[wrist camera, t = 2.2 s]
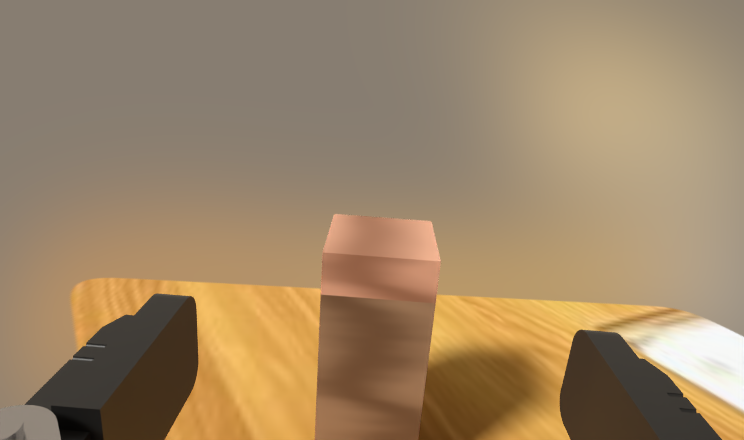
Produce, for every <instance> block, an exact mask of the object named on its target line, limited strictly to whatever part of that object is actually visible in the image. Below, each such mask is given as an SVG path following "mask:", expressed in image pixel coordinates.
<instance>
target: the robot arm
mask: <svg viewBox="0 0 744 440" xmlns="http://www.w3.org/2000/svg"><path fill="white" fill-rule="evenodd" d="M197 370H198V340H197V314H196V303H195V300H194V298H193V297H191V296H180V295H168V294H154V295H153V296H152V297H151V298H150V299H149V300H148V301H147V302H146V303H145V304H144V306H143V307H142V308H141V309H140V310H139V311H138V312H137V313H136V314H135V315H134V316H133V315H124V316H123V317H121V318H119V319H117V320H115V321H113V322H111V323H109V324H107V325H106V326H104V327H102V328H101V329H100V330H99V331H98V332H97V333H96V334H95V335H94V336H93V337H92V338H91V339H90V340H89V341H88V342H87V343H86V346H83V347H82V348H81V349H80V350H79V351H78V352H77V353H76V354H75V355H74V356H73V359H72V360H69V361H68V362H67V363H66V364H65V365H64V366H63V367H62V368H61V369H60V370H59V371H58V372H57V373H56V374H55V375H54V376H53V377H52V378H51V379H50V380H49V381H48V382H47V383H46V384H45V385H44V386H43V387H42V388H41V389H40V390H39V391H38V392H37V393H36V394H35V395H34V396H33V397H32V398H31V399H30V400H29V401H28V402H27V403H26V404H25V405H17V406H10V407H5V408H1V409H0V440H164V439H165V438H166V436H167V434H168V432H169V431H170V429H171V427H172V425H173V423H174V422H175V420H176V418H177V416H178V414H179V413H180V411H181V409H182V407H183V406H184V404H185V402H186V400H187V398H188V397H189V395H190V393H191V391H192V389H193V387H194V384H195V380H196V376H197ZM560 412H561V417H562V421H563V424H564V426H565V428H566V430H567V433H568V435H569V437H570V439H571V440H722V439H721V438H720V437H719V436H718V434H717V433H716V432H715V431H714V430H713V429H712V427H711V426H710V425H709V424H708V423H707V421H706V420H705V419H704V418H703V417H702V416H701V414H700V413H696V408H695V407H694V406H693V405H692V404H691V403H690V401H689V400H688V399H687V398H685V397H683V393H682V392H681V391H680V390H679V388H678V387H677V386H676V385H675V384H674V383H673V381H672V380H671V379H670V378H669V377H668V375H666V374H665V373H663V372H662V371H660V370H659V369H658V368H656V367H655V366H653V365H652V364H650V363H649V362H648V361H646V360H645V359H639V358H638V357H637V355H636V354H635V353H634V352H633V350H632V349H631V348H630V347H629V345H628V344H627V343H626V342H625V340H624V339H623V338H622V337H621V336H620V335H619V334H618V333H614V332H602V331H590V330H579V331H577V333H576V334H575V336H574V338H573V342H572V346H571V350H570V355H569V359H568V363H567V367H566V371H565V376H564V380H563V384H562V388H561V393H560Z"/></svg>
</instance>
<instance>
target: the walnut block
mask: <svg viewBox="0 0 744 440" xmlns="http://www.w3.org/2000/svg"><path fill="white" fill-rule="evenodd" d="M440 263H441V260H440V256H439V252H438V247H437V243H436V239H435V235H434V231H433V226H432V222H431V221H420V220H407V219H394V218H381V217H367V216H354V215H341V214H334V217H333V220H332V223H331V226H330V230H329V233H328V236H327V239H326V243H325V246H324V249H323V255H322V279H321V280H322V281H321V303H320V327H319V352H318V376H317V400H316V425H315V440H418V438H419V430H420V422H421V414H422V406H423V398H424V390H425V382H426V375H427V367H428V359H429V351H430V343H431V335H432V327H433V319H434V311H435V303H436V295H437V287H438V280H439V272H440Z"/></svg>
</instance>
